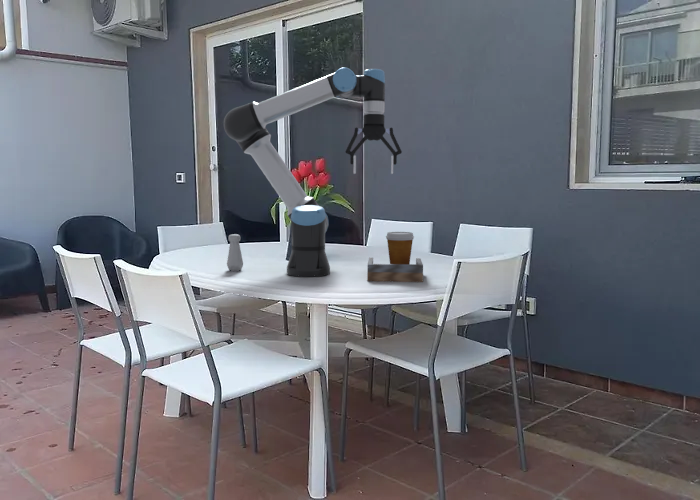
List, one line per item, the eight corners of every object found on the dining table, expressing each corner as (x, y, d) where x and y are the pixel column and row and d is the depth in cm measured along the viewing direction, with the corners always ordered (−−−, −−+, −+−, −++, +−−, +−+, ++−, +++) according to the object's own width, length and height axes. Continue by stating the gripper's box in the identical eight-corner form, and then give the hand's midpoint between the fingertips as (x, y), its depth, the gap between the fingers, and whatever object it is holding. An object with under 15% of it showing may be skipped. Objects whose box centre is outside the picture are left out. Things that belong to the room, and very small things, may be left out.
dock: (367, 281, 196) (367, 264, 195) (368, 273, 212) (368, 257, 211) (422, 282, 195) (423, 265, 194) (420, 273, 211) (420, 258, 210)
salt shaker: (246, 269, 217) (246, 234, 215) (237, 272, 212) (236, 235, 210) (233, 268, 219) (232, 233, 218) (223, 271, 214) (222, 234, 212)
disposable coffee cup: (412, 270, 198) (413, 234, 197) (384, 269, 200) (384, 234, 198) (414, 266, 208) (415, 231, 206) (387, 265, 209) (387, 231, 208)
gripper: (408, 115, 218) (407, 174, 221) (340, 115, 220) (339, 173, 223) (409, 113, 211) (408, 174, 214) (338, 113, 212) (338, 173, 215)
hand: (373, 173), depth 218 cm, fingers open, 13 cm apart
